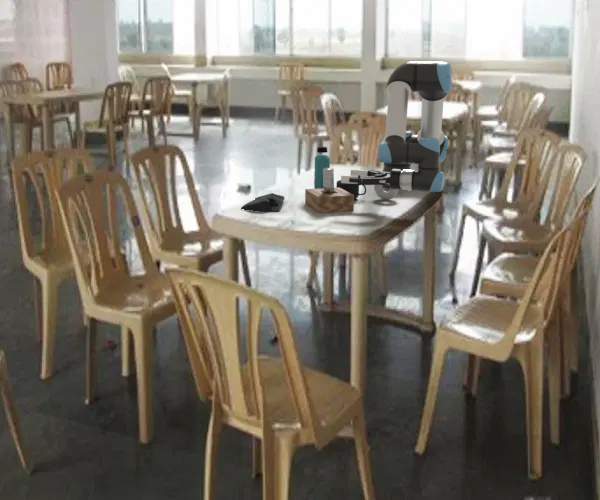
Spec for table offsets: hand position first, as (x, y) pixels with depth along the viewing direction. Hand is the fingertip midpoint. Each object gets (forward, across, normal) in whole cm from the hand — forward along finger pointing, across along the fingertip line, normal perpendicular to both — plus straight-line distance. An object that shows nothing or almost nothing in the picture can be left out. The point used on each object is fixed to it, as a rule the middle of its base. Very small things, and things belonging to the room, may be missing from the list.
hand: (346, 176), depth 317 cm
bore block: (+6, 0, -13) cm, 14 cm away
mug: (+3, +19, -13) cm, 23 cm away
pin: (+6, 0, -12) cm, 13 cm away
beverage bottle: (+16, +22, -13) cm, 30 cm away
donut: (-11, +22, -13) cm, 28 cm away
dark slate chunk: (+30, -5, -13) cm, 34 cm away
